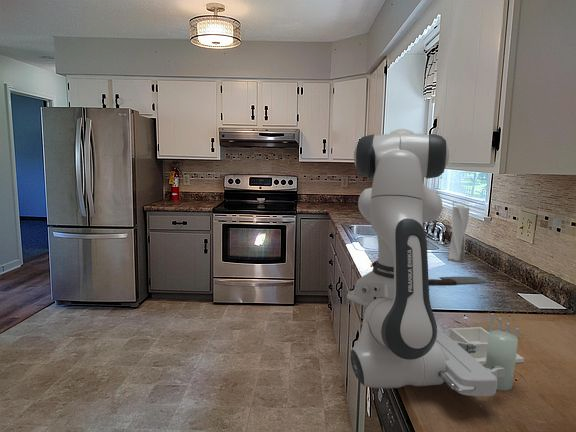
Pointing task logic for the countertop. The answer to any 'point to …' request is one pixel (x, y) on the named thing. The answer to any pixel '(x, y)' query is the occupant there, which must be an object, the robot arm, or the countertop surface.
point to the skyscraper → (458, 233)
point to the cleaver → (455, 281)
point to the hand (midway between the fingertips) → (487, 358)
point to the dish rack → (480, 339)
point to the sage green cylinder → (502, 356)
